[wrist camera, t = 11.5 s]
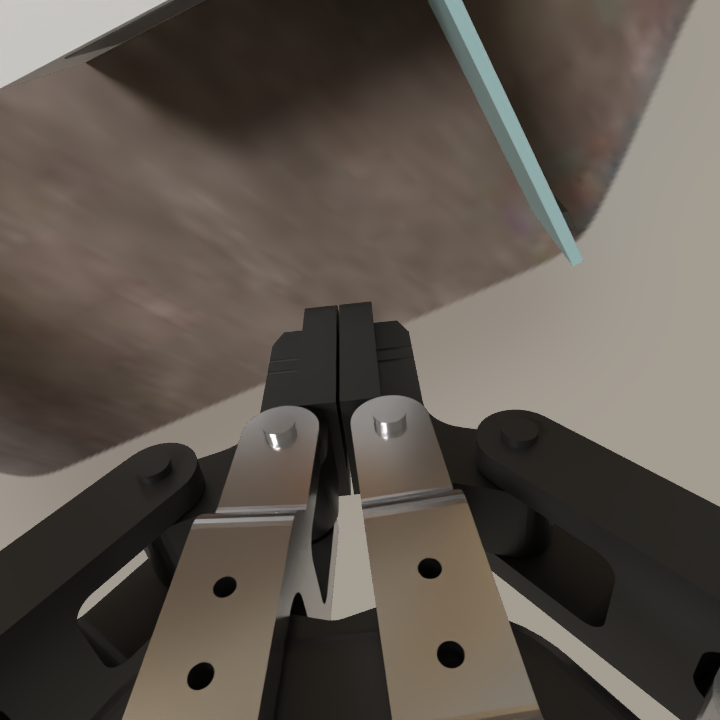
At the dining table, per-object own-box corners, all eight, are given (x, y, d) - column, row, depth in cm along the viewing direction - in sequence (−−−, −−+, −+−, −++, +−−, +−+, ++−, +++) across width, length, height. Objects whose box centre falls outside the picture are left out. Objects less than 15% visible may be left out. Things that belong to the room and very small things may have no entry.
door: (551, 202, 30) (597, 256, 24) (528, 215, 30) (568, 271, 25) (409, -99, 23) (426, -124, 17) (382, -76, 23) (390, -94, 18)
